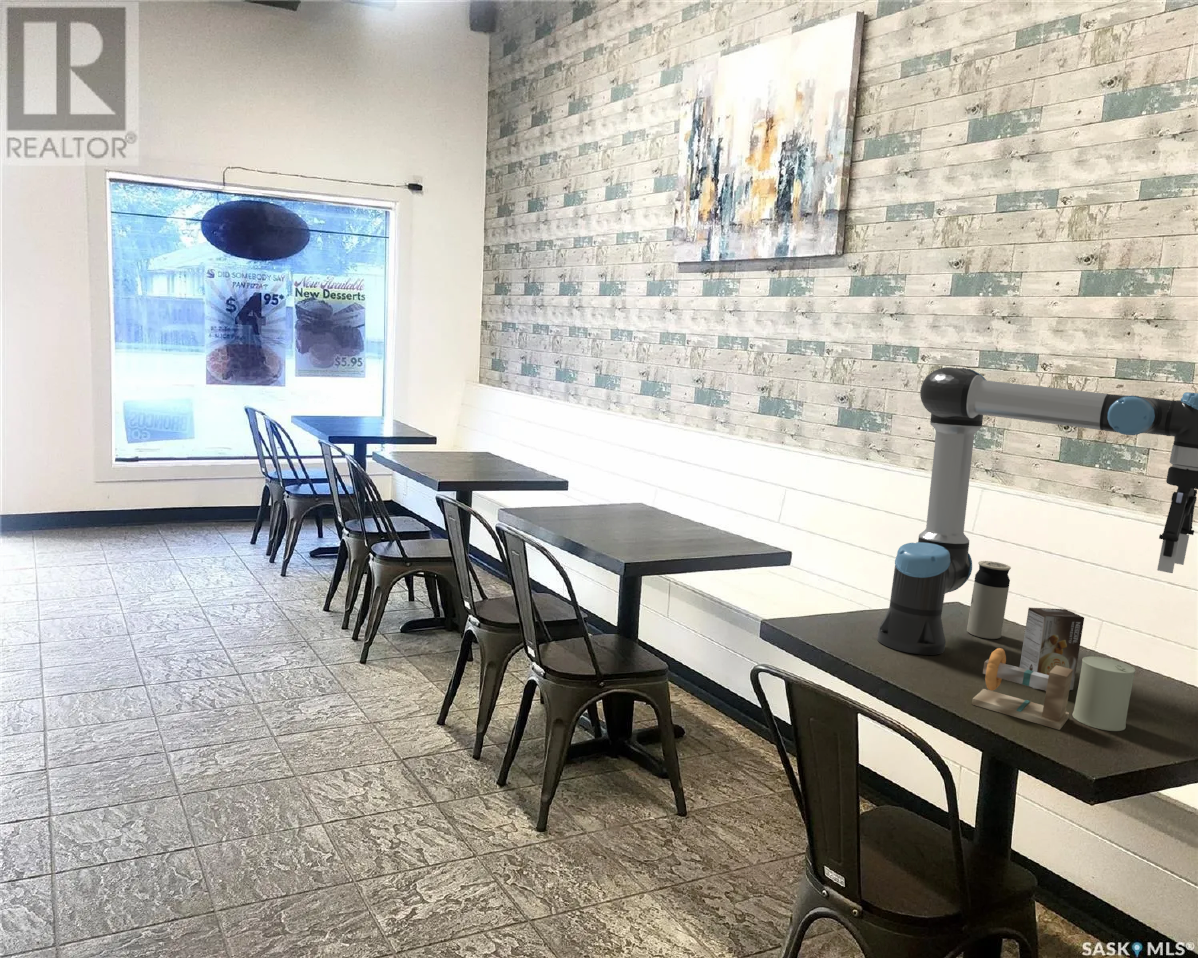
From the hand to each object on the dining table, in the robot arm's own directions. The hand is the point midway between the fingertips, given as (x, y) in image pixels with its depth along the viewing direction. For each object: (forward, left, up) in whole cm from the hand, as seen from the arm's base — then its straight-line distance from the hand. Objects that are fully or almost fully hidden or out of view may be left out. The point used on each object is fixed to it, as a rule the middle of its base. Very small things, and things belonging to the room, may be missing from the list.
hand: (1170, 567), depth 200 cm
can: (-5, -29, -28) cm, 40 cm away
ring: (-23, -37, -25) cm, 50 cm away
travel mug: (-38, +13, -28) cm, 49 cm away
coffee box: (-18, -15, -28) cm, 36 cm away
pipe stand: (-18, -37, -28) cm, 49 cm away
